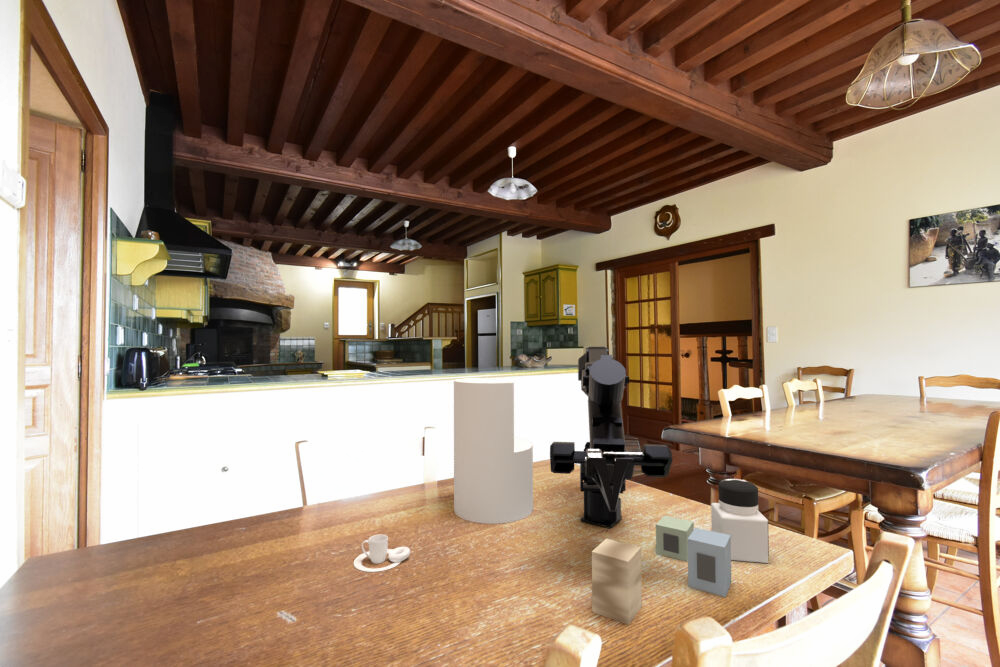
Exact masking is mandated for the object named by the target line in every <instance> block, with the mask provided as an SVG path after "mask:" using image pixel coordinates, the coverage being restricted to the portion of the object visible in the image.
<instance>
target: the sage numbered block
mask: <svg viewBox="0 0 1000 667" xmlns="http://www.w3.org/2000/svg"><path fill="white" fill-rule="evenodd" d="M694 523H695V522H694V521H692V520H687V519H682V518H678V517H673V516H668V515H663V516H662V517H661V519H660V520H658V522H657V523H655V553H656V554H657V555H660V556H664V557H668V558H672V559H675V560H680V561H683V562H688V538H689V536H690V535H691V533H692V532H693V530H694V529H695V527H694V526H695V524H694Z"/></svg>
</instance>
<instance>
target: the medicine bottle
mask: <svg viewBox="0 0 1000 667" xmlns="http://www.w3.org/2000/svg"><path fill="white" fill-rule="evenodd" d="M710 506H711V508H710V509H711V513H710V514H711V531H713V532H718V533H722V534H727V535H731V561H734V562H735V561H736V562H738V561H739V562H750V563H760V564H761V563H762V564H768V563H769V562H770V554H769V553H770V552H769V550H770V547H769V546H770V545H769V540H770V539H769V537H770V536H769V520H768V519H767V518H766V517H765V516H764V515H763V514H762V513H761V512H760V511H759V488H758V487H757V485H756V484H754V483H752V482H751V481H747V480H744V479H739V478H727V479H723V480H720V481H719V482H718V502H711V504H710Z"/></svg>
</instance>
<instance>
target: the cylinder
mask: <svg viewBox="0 0 1000 667" xmlns="http://www.w3.org/2000/svg"><path fill="white" fill-rule="evenodd" d="M514 392H515V382H510V381H505V380H496V379H489V378H488V379H487V378H482V377H465V378H456V379H454V380H453V512H454V514H455V515H456V516H457V517H459V518H461V519H462V520H465V521H469V522H473V523H478V524H486V525H487V524H489V525H495V524H496V525H498V524H507V523H512V522H513V523H514V522H518V521H521V520H523V519H525V518H527V517H529V516H530V515H531V514H532V513H533V511H534V474H533V473H534V464H533V463H534V459H533V458H534V454H533V453H534V452H533V450H534V449H533V448H534V447H533V442H531V441H529V440H526V439H522V438H518V437H515V394H514Z"/></svg>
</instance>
